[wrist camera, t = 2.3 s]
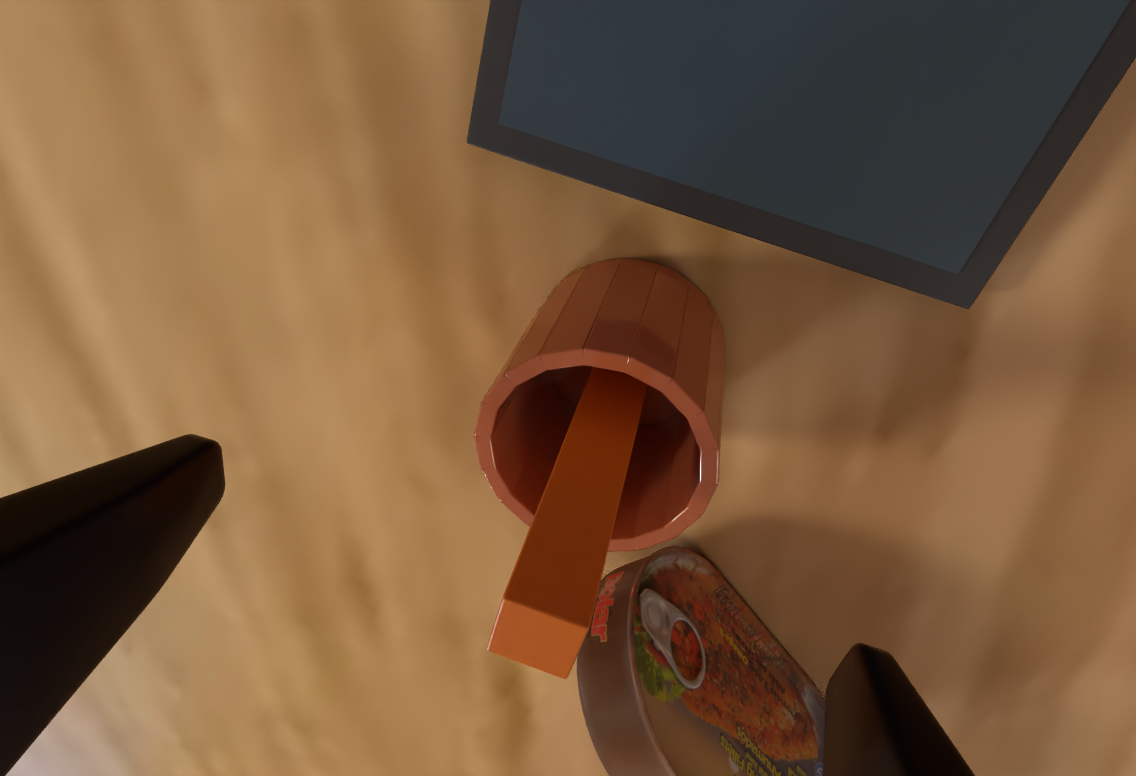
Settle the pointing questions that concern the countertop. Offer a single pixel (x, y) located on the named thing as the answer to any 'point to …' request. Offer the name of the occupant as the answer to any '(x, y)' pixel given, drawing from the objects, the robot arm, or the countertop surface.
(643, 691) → the tin
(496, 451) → the pen cup
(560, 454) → the stylus
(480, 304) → the countertop surface
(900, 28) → the tablet
